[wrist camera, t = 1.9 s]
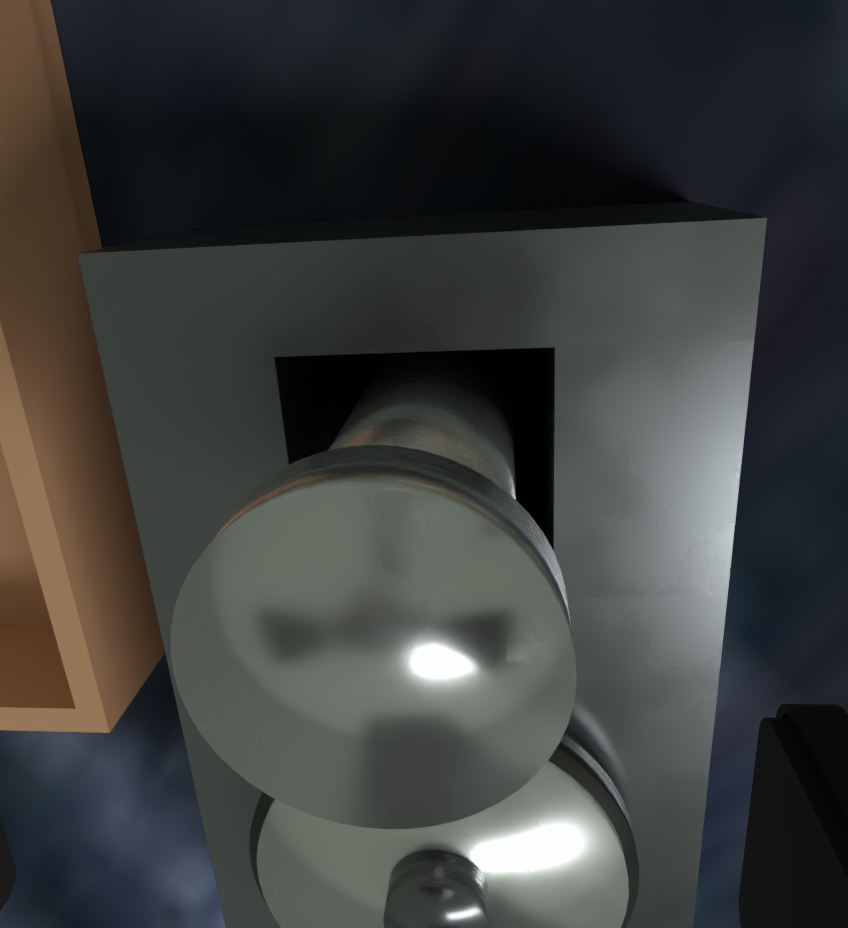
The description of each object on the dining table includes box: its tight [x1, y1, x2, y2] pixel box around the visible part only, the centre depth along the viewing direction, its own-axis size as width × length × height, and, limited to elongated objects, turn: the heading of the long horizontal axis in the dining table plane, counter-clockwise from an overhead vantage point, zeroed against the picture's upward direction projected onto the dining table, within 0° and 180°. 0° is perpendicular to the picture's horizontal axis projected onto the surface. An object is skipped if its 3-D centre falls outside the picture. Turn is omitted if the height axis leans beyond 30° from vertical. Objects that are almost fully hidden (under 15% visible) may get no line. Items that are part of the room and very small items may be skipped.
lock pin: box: [170, 350, 577, 829], centre depth 16 cm, size 5×5×12 cm
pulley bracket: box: [77, 201, 767, 928], centre depth 19 cm, size 20×13×8 cm, turn 3°
